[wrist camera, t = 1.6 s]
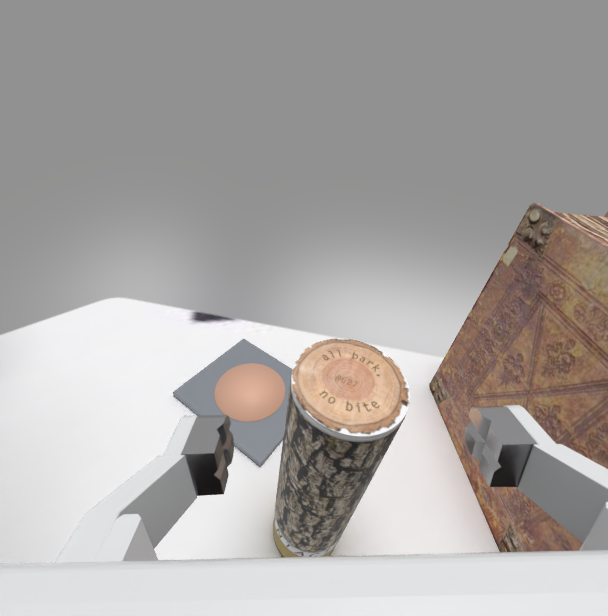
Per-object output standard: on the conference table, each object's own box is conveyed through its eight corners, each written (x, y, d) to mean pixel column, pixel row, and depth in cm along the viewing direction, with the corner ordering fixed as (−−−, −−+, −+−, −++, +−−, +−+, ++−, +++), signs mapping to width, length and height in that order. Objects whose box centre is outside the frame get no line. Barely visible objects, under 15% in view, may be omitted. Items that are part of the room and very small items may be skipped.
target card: (173, 395, 44) (172, 391, 44) (243, 342, 54) (243, 338, 53) (260, 466, 38) (260, 463, 37) (322, 391, 47) (322, 388, 47)
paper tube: (288, 484, 37) (315, 325, 21) (344, 511, 35) (417, 361, 20) (261, 549, 32) (269, 403, 16) (324, 584, 30) (400, 460, 15)
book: (428, 384, 51) (530, 200, 32) (481, 386, 52) (612, 208, 33) (517, 595, 31) (918, 435, 12) (602, 591, 32) (1094, 438, 13)
